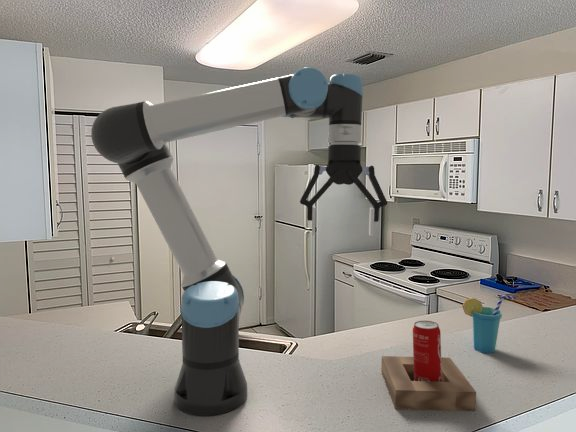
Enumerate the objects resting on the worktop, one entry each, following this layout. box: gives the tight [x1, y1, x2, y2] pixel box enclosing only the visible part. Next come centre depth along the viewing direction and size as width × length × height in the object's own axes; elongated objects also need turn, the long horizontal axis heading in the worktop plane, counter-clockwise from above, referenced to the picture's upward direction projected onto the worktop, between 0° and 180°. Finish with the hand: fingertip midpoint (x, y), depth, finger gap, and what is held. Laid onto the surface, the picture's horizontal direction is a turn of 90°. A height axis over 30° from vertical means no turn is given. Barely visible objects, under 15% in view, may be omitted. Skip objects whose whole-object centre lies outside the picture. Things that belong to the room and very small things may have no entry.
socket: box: [380, 355, 477, 412], centre depth 96 cm, size 16×16×4 cm
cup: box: [461, 294, 516, 354], centre depth 118 cm, size 14×8×15 cm, turn 96°
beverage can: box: [412, 320, 442, 382], centre depth 96 cm, size 6×6×15 cm
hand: (342, 235), depth 104 cm, fingers open, 13 cm apart
